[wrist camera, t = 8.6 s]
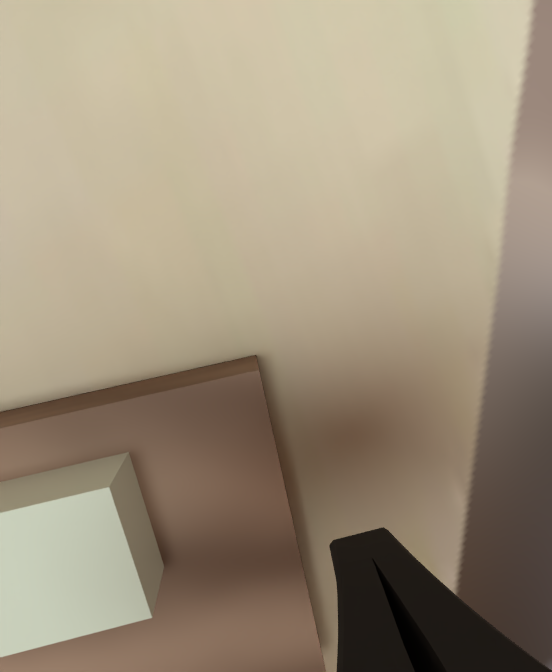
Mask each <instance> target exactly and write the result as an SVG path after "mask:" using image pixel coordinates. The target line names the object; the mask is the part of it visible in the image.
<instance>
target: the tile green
mask: <svg viewBox="0 0 552 672" xmlns="http://www.w3.org/2000/svg"><path fill="white" fill-rule="evenodd" d="M163 569H164V564H163V561H162V558H161V554H160V551H159V548H158V545H157V542H156V538H155V535H154V532H153V529H152V525H151V522H150V519H149V516H148V513H147V509H146V506H145V503H144V500H143V497H142V493H141V490H140V487H139V484H138V480H137V477H136V474H135V471H134V468H133V464H132V461H131V458H130V455H129V452H127V453H122V454H118V455H114V456H109V457H105V458H101V459H97V460H92V461H88V462H84V463H80V464H75V465H71V466H67V467H62V468H58V469H54V470H50V471H45V472H41V473H37V474H33V475H28V476H24V477H20V478H15V479H11V480H7V481H3V482H0V657H4V656H8V655H12V654H15V653H19V652H23V651H27V650H31V649H35V648H38V647H42V646H46V645H50V644H54V643H57V642H61V641H65V640H69V639H73V638H77V637H80V636H84V635H88V634H92V633H96V632H100V631H103V630H107V629H111V628H115V627H119V626H123V625H126V624H130V623H134V622H138V621H142V620H146V619H149V618H152V616H153V612H154V608H155V604H156V599H157V595H158V591H159V586H160V582H161V578H162V574H163Z"/></svg>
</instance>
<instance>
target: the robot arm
mask: <svg viewBox="0 0 552 672" xmlns="http://www.w3.org/2000/svg"><path fill="white" fill-rule="evenodd" d="M330 551H331V556H332V561H333V566H334V571H335V576H336V581H337V593H338V657H337V672H552V670H550V669H549V668H547V667H546V666H545V665H543V664H542V663H540V662H539V661H538V660H536V659H535V658H534V657H532V656H531V655H529V654H528V653H527V652H526V651H524V650H523V649H522V648H520V647H519V646H518V645H516V644H515V643H514V642H512V641H511V640H510V639H508V638H507V637H506V636H505V635H503V634H502V633H501V632H500V631H498V630H497V629H496V628H495V627H493V626H492V625H491V624H489V623H488V622H487V621H486V620H485V619H483V618H482V617H481V616H480V615H479V614H477V613H476V612H475V611H474V610H472V609H471V608H470V607H469V606H468V605H467V604H465V603H464V602H463V601H462V600H461V599H460V598H459V597H457V596H456V595H455V594H454V593H453V592H452V591H451V590H449V589H448V588H447V587H446V586H445V585H444V584H443V583H441V582H440V581H439V580H438V579H437V578H436V577H435V576H434V575H433V574H432V573H430V572H429V571H428V570H427V569H426V568H425V567H424V566H423V565H422V564H421V563H420V562H419V561H418V560H417V559H416V558H415V557H414V556H413V555H412V554H411V553H410V552H409V551H408V550H407V549H406V548H405V547H404V546H403V545H402V544H401V543H400V542H399V541H398V540H397V539H396V538H395V537H394V536H393V535H392V534H391V533H390V532H389V531H388V530H387V529H385V528H379V529H375V530H372V531H368V532H364V533H360V534H356V535H352V536H348V537H344V538H340V539H336V540H333V541H332V543H331V544H330Z"/></svg>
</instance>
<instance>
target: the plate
mask: <svg viewBox="0 0 552 672" xmlns="http://www.w3.org/2000/svg"><path fill="white" fill-rule="evenodd" d="M127 452H129V455H130V458H131V461H132V464H133V468H134V471H135V474H136V477H137V480H138V484H139V487H140V490H141V493H142V497H143V500H144V503H145V506H146V509H147V513H148V516H149V519H150V522H151V525H152V529H153V532H154V535H155V538H156V542H157V545H158V548H159V551H160V554H161V558H162V561H163V564H164V569H163V574H162V578H161V582H160V586H159V591H158V595H157V599H156V604H155V608H154V612H153V616H152V618H149V619H146V620H142V621H138V622H134V623H130V624H126V625H123V626H119V627H115V628H111V629H107V630H103V631H100V632H96V633H92V634H88V635H84V636H80V637H77V638H73V639H69V640H65V641H61V642H57V643H54V644H50V645H46V646H42V647H38V648H35V649H31V650H27V651H23V652H19V653H15V654H12V655H8V656H4V657H0V672H326V670H325V665H324V661H323V656H322V652H321V647H320V642H319V638H318V633H317V629H316V624H315V620H314V615H313V611H312V606H311V602H310V597H309V593H308V588H307V584H306V579H305V575H304V570H303V566H302V561H301V557H300V552H299V548H298V543H297V539H296V534H295V529H294V525H293V520H292V516H291V511H290V507H289V502H288V498H287V493H286V489H285V484H284V480H283V475H282V471H281V466H280V462H279V457H278V453H277V448H276V444H275V439H274V435H273V430H272V426H271V421H270V416H269V412H268V407H267V403H266V398H265V394H264V389H263V385H262V380H261V376H260V371H259V367H258V362H257V358H256V355H255V356H250V357H246V358H241V359H237V360H232V361H228V362H224V363H219V364H215V365H210V366H206V367H201V368H197V369H192V370H188V371H183V372H179V373H174V374H170V375H165V376H161V377H156V378H152V379H147V380H143V381H138V382H134V383H129V384H125V385H121V386H116V387H112V388H107V389H103V390H98V391H94V392H89V393H85V394H80V395H76V396H71V397H67V398H62V399H58V400H53V401H49V402H44V403H40V404H35V405H31V406H26V407H22V408H17V409H13V410H9V411H4V412H0V482H3V481H7V480H11V479H15V478H20V477H24V476H28V475H33V474H37V473H41V472H45V471H50V470H54V469H58V468H62V467H67V466H71V465H75V464H80V463H84V462H88V461H92V460H97V459H101V458H105V457H109V456H114V455H118V454H122V453H127Z"/></svg>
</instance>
